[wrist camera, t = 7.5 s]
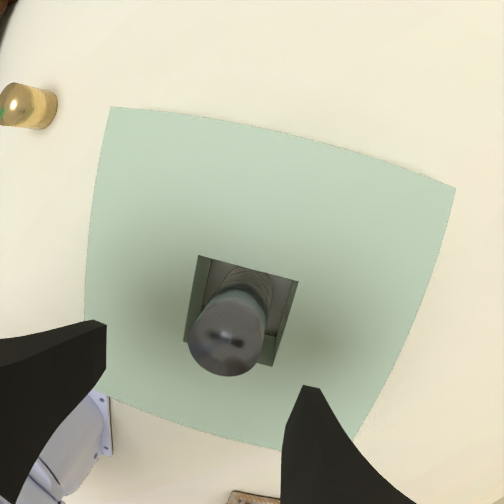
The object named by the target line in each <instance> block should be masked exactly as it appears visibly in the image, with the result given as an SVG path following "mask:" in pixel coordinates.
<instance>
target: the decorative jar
mask: <svg viewBox="0 0 504 504" xmlns="http://www.w3.org/2000/svg"><path fill="white" fill-rule="evenodd" d="M227 504H280V500H278V499H271V498H266V497H261V496H255V495H250V494H245V493H241V492H232V493H231V495H230V497H229V500H228V502H227Z"/></svg>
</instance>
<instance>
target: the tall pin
mask: <svg viewBox="0 0 504 504" xmlns="http://www.w3.org/2000/svg"><path fill="white" fill-rule="evenodd" d="M272 292H273V288H272V283H271V281H270V279H269V277H268V276H267V275H266V273H264V272H261V271H257V270H253V269H249V268H246V267H242V266H240V267H237V268H235V269H233V270H232V271H231V272H230V273H229V274H228V275H227V276H226V278H225V279H224V281H223V282H222V283H221V285H220V286H219V288H218V289H217V291H216V292H215V294H214V295H213V297H212V298H211V299H210V301H209V302H208V304H207V305H206V307H205V308H204V310H203V311H202V312H201V314H200V315H199V317H198V318H197V320H196V321H195V323H194V324H193V326H192V327H191V329H190V331H189V335H188V346H189V350H190V353H191V355H192V357H193V358H194V360H195V361H196V362H197V363H198V364H199V365H200V366H201V367H202V368H204V369H205V370H207V371H208V372H210V373H213V374H215V375H219V376H225V377H232V376H238V375H241V374H244V373H246V372H248V371H249V370H251V369H252V368H253V367H254V366H255V364H256V363H257V361H258V359H259V357H260V352H261V347H262V342H263V338H264V333H265V328H266V323H267V318H268V313H269V308H270V303H271V298H272Z"/></svg>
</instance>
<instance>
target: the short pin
mask: <svg viewBox="0 0 504 504" xmlns="http://www.w3.org/2000/svg"><path fill="white" fill-rule="evenodd" d="M57 106H58V102H57V97H56V95H55V94H54V93H52V92H50V91H46V90H42V89H38V88H34V87H30V86H26V85H22V84H18V83H11V84H9V85H7V86H6V87H5V88H4V90H3V91H2V93H1V94H0V125H3V126H14V127H23V128H33V129H44V128H46V127H47V126H49V125H50V123H51V122H52V121H53V119H54V117H55V115H56V112H57Z"/></svg>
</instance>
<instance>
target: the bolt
mask: <svg viewBox="0 0 504 504" xmlns="http://www.w3.org/2000/svg"><path fill="white" fill-rule="evenodd" d="M16 1H18V0H0V20H1V18H2V16H3V14H4V12H5V9H6V7H7V6H8V5H10V4H12V3H14V2H16Z"/></svg>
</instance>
